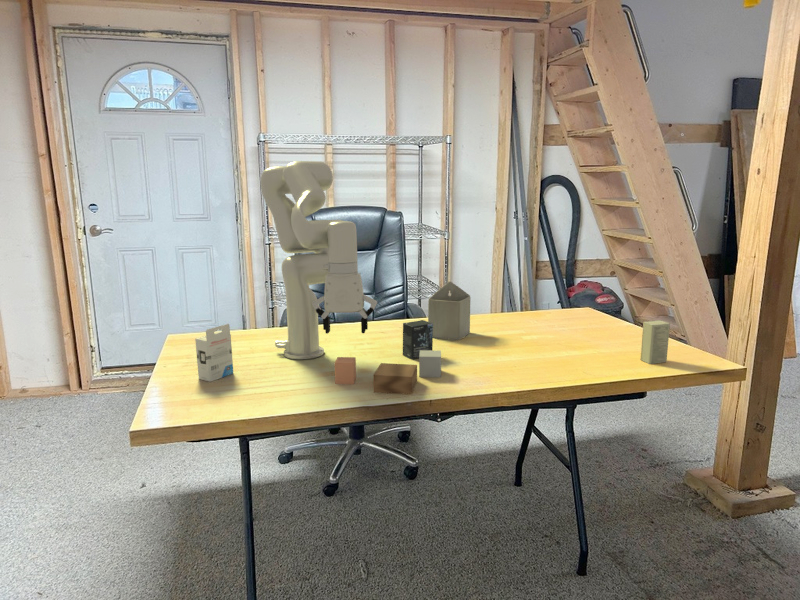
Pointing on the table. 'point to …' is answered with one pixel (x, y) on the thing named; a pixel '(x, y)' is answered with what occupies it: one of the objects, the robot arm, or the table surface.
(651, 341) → the skincare box
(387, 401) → the table surface
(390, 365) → the brown flat square block
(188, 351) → the table surface
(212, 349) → the ink box
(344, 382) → the terracotta block
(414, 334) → the box
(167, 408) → the table surface
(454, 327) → the planter
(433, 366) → the grey block
